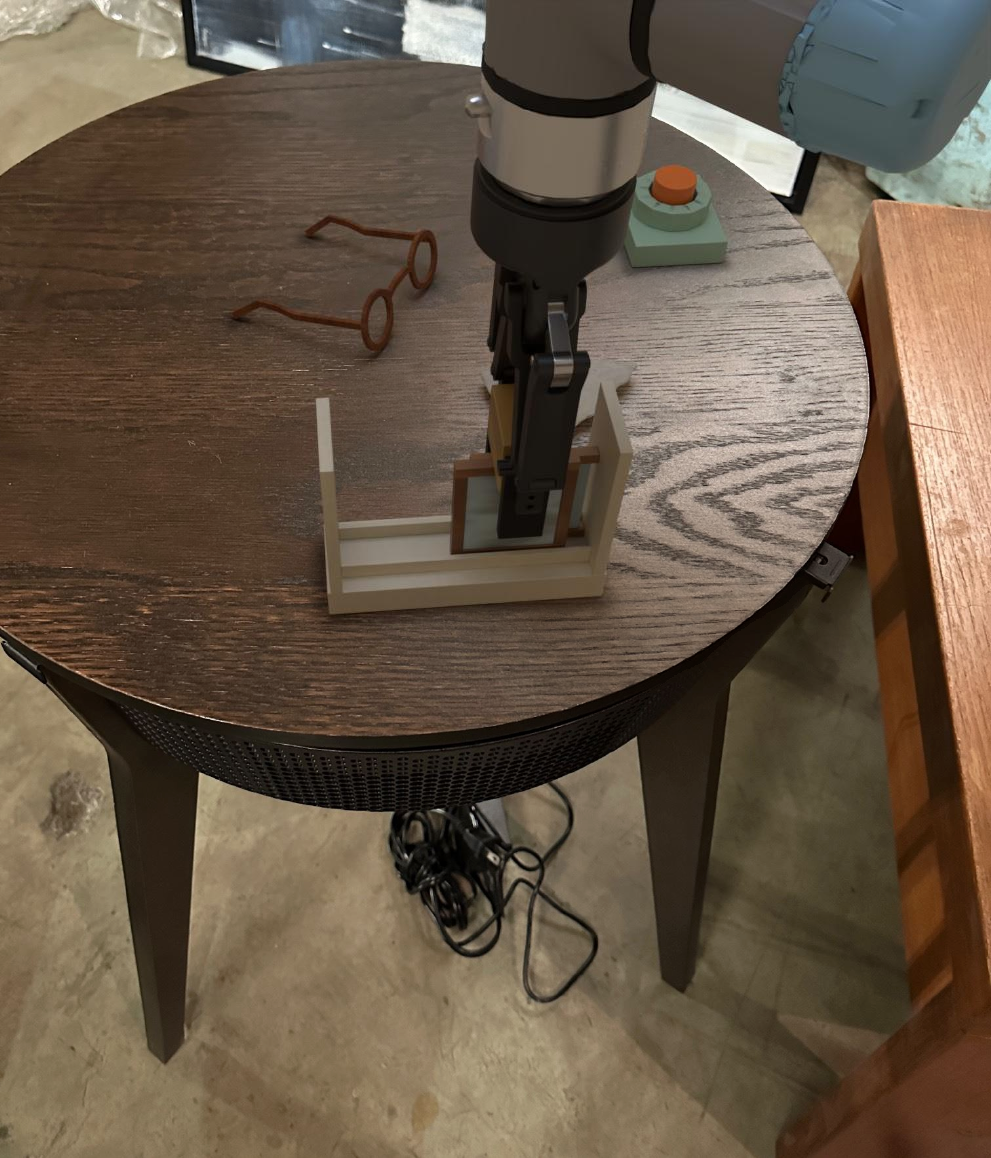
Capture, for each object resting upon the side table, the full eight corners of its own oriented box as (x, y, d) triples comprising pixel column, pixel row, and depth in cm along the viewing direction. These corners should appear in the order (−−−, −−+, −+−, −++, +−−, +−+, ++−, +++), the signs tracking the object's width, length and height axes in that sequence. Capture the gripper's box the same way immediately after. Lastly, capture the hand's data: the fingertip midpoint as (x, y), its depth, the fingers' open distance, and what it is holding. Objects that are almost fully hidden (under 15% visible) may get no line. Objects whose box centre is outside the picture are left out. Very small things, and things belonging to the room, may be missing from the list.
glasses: (372, 365, 88) (370, 316, 84) (231, 318, 91) (223, 268, 87) (440, 271, 95) (442, 222, 91) (307, 231, 98) (303, 181, 95)
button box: (694, 195, 102) (704, 155, 99) (722, 262, 96) (733, 223, 93) (609, 199, 101) (615, 160, 98) (631, 267, 95) (639, 228, 92)
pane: (557, 518, 75) (581, 378, 65) (569, 577, 72) (597, 440, 62) (445, 525, 74) (452, 386, 64) (454, 584, 72) (462, 448, 61)
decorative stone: (475, 390, 88) (473, 364, 85) (610, 338, 89) (612, 311, 86) (519, 464, 83) (519, 439, 81) (661, 409, 84) (665, 382, 82)
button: (687, 181, 97) (691, 163, 95) (697, 206, 95) (701, 188, 93) (647, 183, 97) (650, 165, 95) (656, 208, 95) (660, 190, 93)
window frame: (585, 527, 78) (616, 379, 67) (602, 596, 74) (637, 452, 63) (325, 544, 77) (312, 397, 66) (329, 614, 73) (316, 472, 62)
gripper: (452, 61, 55) (437, 399, 74) (502, 292, 45) (470, 620, 63) (599, 56, 56) (548, 393, 75) (684, 283, 45) (599, 611, 64)
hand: (512, 496), depth 69 cm, fingers closed on pane, 5 cm apart
